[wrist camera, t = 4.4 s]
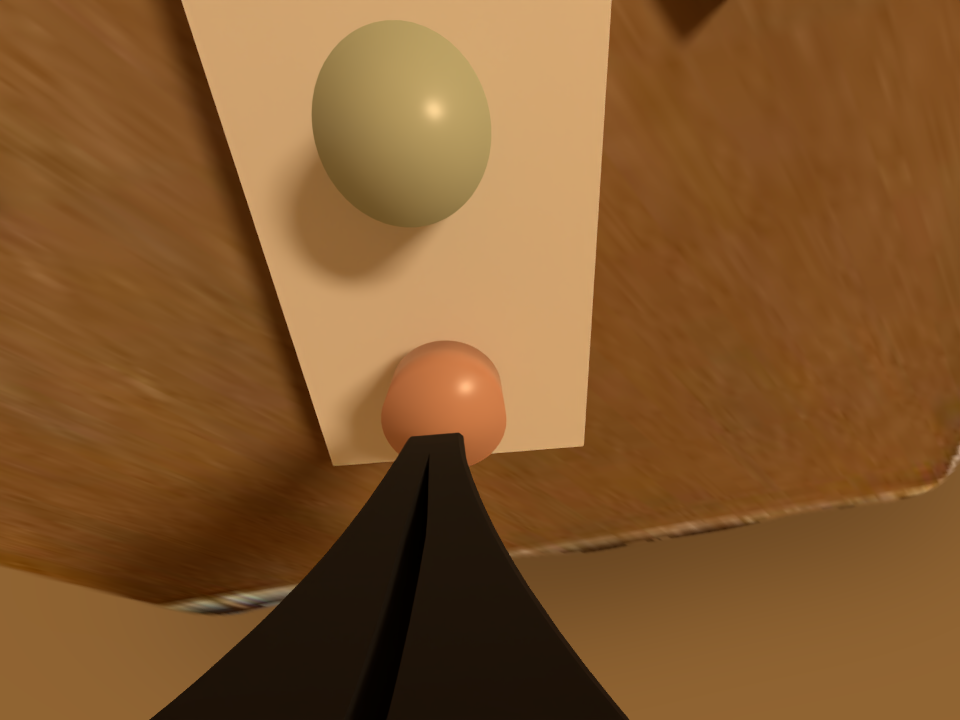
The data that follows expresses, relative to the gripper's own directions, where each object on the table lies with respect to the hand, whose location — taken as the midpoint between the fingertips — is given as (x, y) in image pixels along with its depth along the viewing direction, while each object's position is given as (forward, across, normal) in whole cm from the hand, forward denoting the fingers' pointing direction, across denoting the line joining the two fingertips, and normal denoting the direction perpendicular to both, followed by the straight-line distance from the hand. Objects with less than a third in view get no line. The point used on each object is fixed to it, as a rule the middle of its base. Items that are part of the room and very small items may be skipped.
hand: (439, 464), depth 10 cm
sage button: (+5, 0, -8) cm, 9 cm away
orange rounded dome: (+4, 0, +1) cm, 5 cm away
